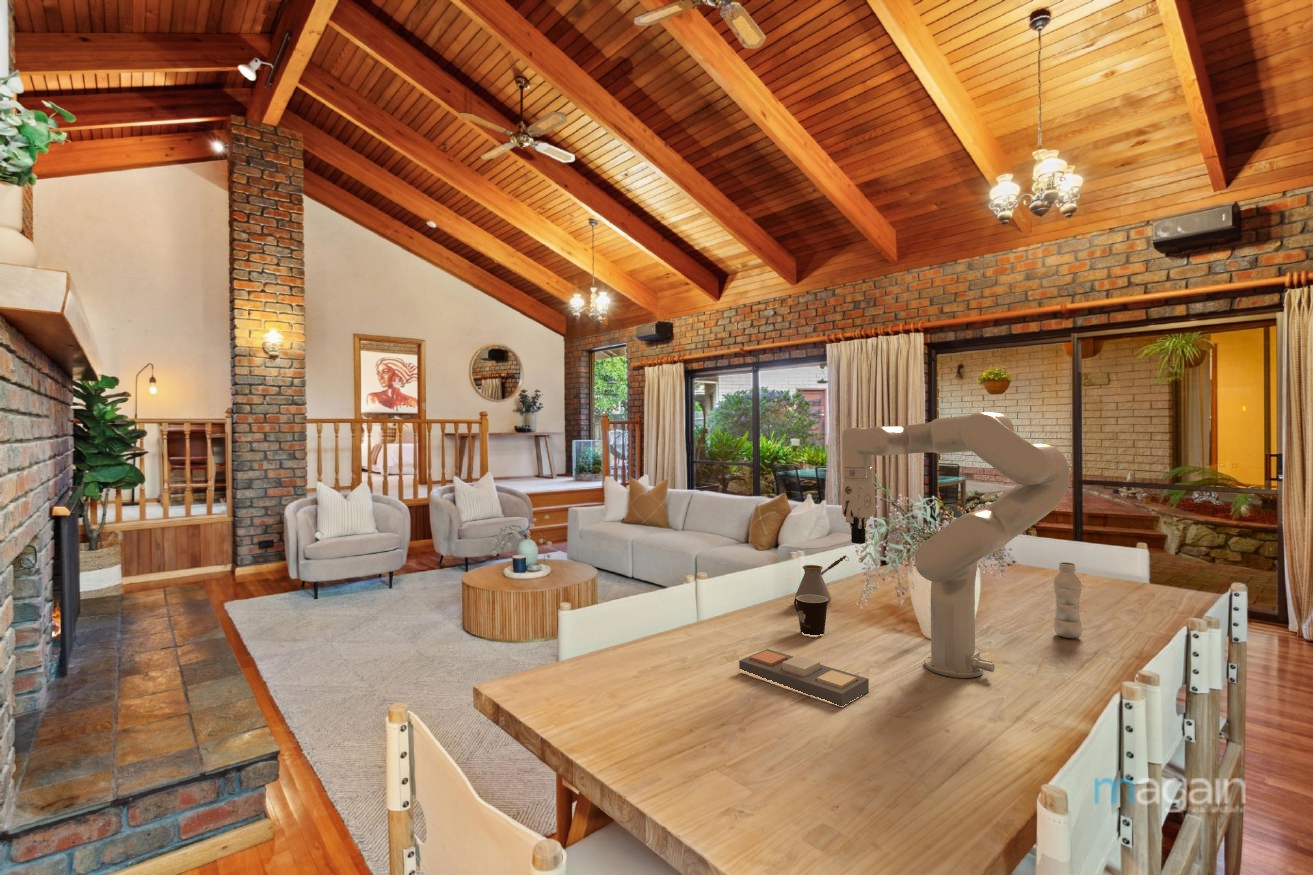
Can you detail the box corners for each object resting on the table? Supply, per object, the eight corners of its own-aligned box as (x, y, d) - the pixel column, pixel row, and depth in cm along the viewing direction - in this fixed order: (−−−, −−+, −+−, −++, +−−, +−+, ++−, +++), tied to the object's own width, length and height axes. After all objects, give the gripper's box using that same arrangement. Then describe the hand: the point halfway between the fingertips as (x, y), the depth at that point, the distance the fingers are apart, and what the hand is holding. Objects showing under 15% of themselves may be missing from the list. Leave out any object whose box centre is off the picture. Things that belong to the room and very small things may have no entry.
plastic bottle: (1073, 633, 172) (1072, 561, 172) (1087, 641, 165) (1087, 566, 165) (1048, 633, 172) (1047, 561, 172) (1062, 641, 166) (1061, 566, 165)
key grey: (819, 670, 141) (819, 662, 141) (804, 678, 137) (804, 669, 137) (797, 664, 146) (797, 655, 146) (782, 671, 141) (782, 662, 141)
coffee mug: (831, 639, 170) (831, 602, 170) (800, 639, 171) (799, 602, 171) (821, 625, 182) (821, 591, 182) (791, 626, 182) (791, 592, 182)
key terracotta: (786, 665, 148) (786, 656, 148) (771, 672, 144) (771, 663, 144) (766, 658, 152) (766, 650, 152) (750, 665, 148) (750, 656, 148)
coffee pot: (812, 613, 195) (811, 565, 195) (787, 604, 205) (787, 559, 205) (861, 603, 205) (860, 557, 205) (835, 595, 215) (834, 552, 215)
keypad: (868, 692, 135) (868, 678, 135) (842, 708, 128) (842, 693, 128) (767, 660, 155) (767, 648, 155) (739, 673, 147) (739, 660, 147)
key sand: (856, 686, 135) (856, 677, 135) (841, 695, 131) (841, 685, 131) (831, 679, 139) (831, 670, 139) (816, 687, 135) (816, 677, 135)
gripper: (856, 476, 157) (857, 548, 157) (884, 473, 168) (885, 541, 168) (829, 475, 163) (830, 545, 163) (858, 472, 173) (859, 538, 173)
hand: (858, 543), depth 165 cm, fingers closed
